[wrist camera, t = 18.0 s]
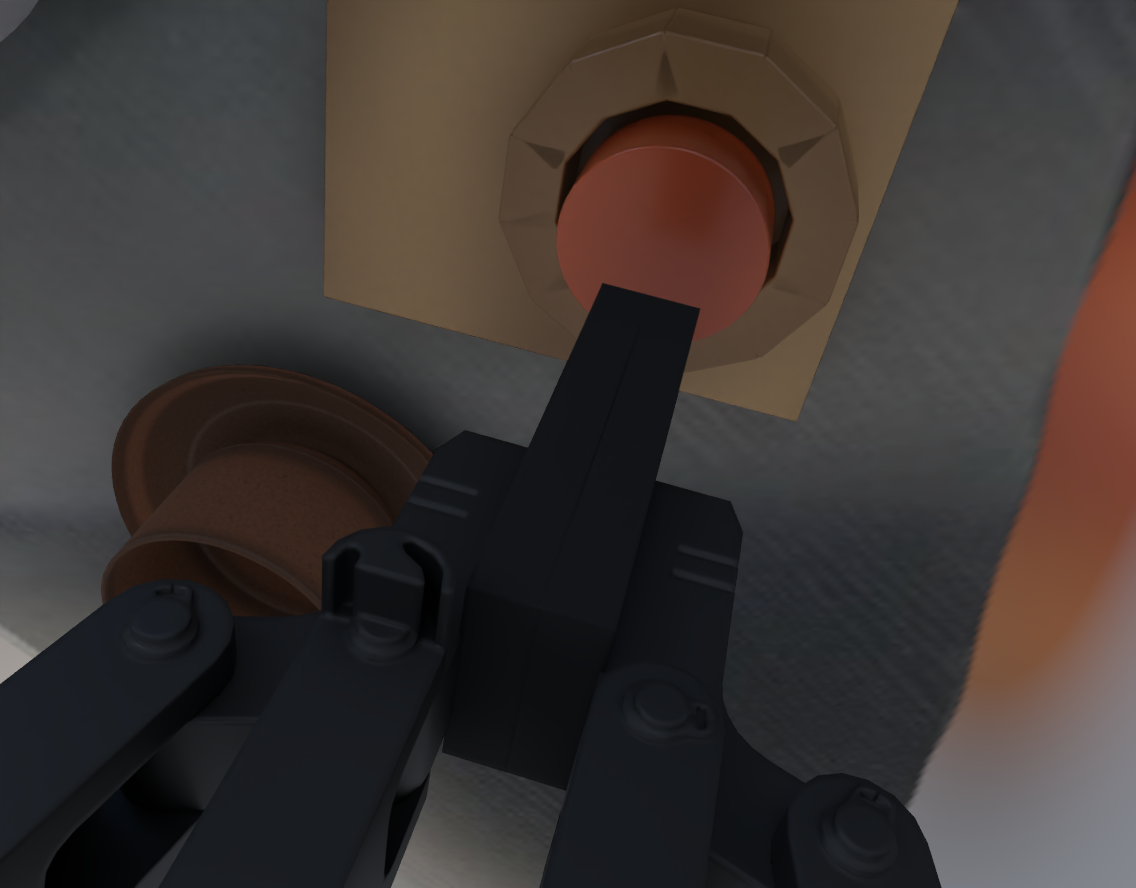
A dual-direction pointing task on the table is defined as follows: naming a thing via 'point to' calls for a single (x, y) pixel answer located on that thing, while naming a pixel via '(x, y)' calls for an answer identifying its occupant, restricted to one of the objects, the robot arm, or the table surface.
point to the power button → (670, 219)
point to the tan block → (579, 125)
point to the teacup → (13, 14)
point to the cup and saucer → (253, 484)
